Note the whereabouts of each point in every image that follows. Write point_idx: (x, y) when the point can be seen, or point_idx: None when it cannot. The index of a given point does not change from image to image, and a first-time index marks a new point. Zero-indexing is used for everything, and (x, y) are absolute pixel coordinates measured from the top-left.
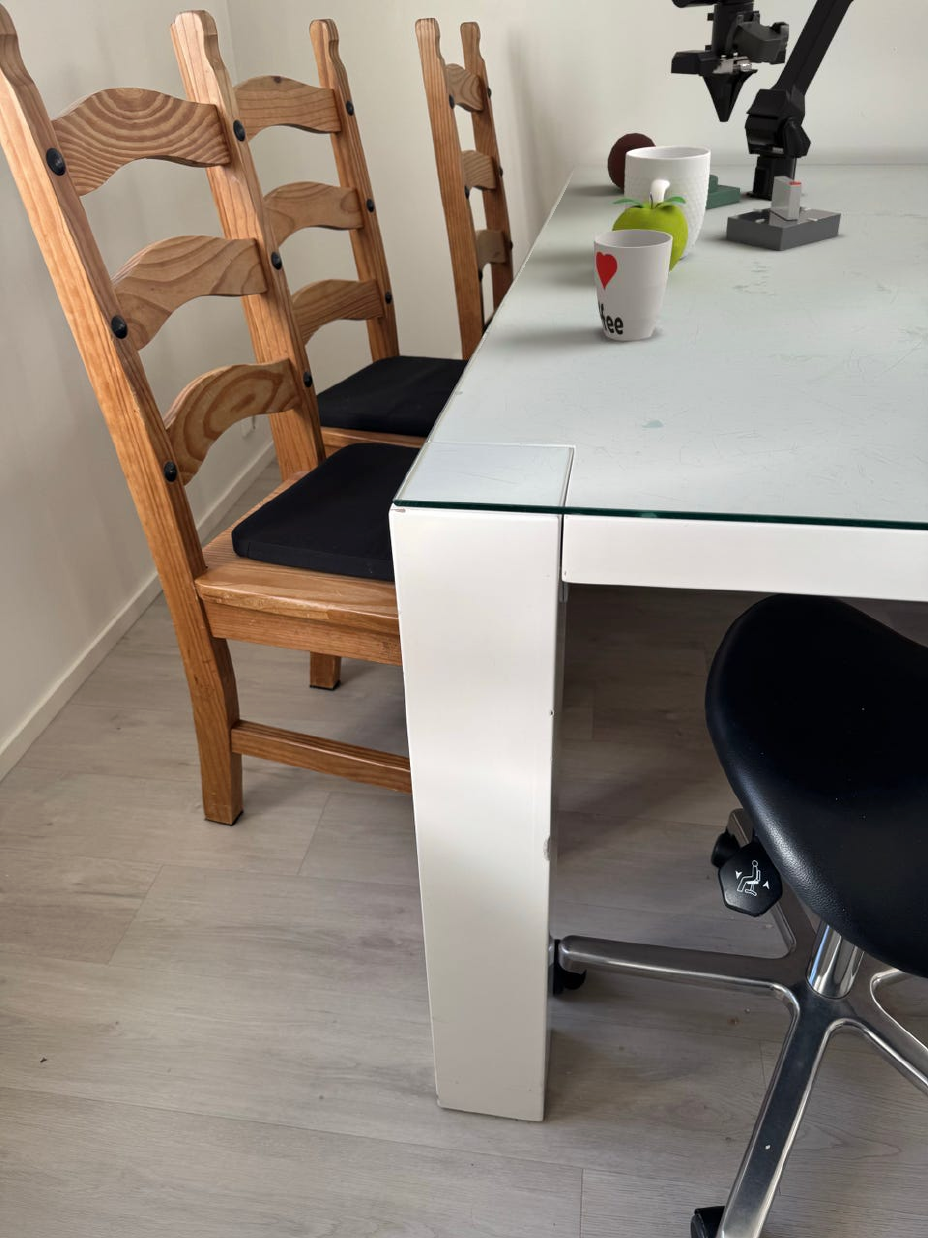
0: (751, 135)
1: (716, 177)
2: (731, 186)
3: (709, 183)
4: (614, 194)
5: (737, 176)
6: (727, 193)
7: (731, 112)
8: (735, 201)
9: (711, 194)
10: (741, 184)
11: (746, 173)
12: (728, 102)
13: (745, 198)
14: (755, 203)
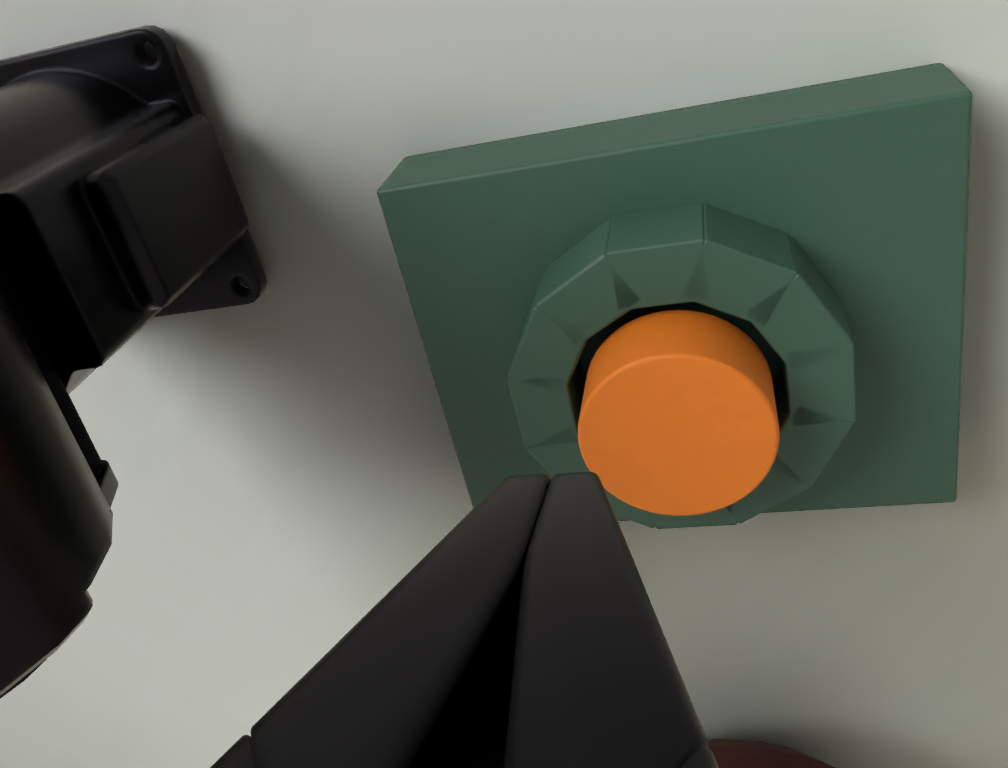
0: (80, 477)
1: (554, 304)
2: (405, 273)
3: (684, 229)
4: (851, 757)
5: (92, 665)
6: (519, 159)
7: (444, 538)
8: (439, 151)
9: (713, 130)
10: (149, 533)
11: (29, 681)
12: (555, 668)
13: (306, 227)
14: (328, 37)
